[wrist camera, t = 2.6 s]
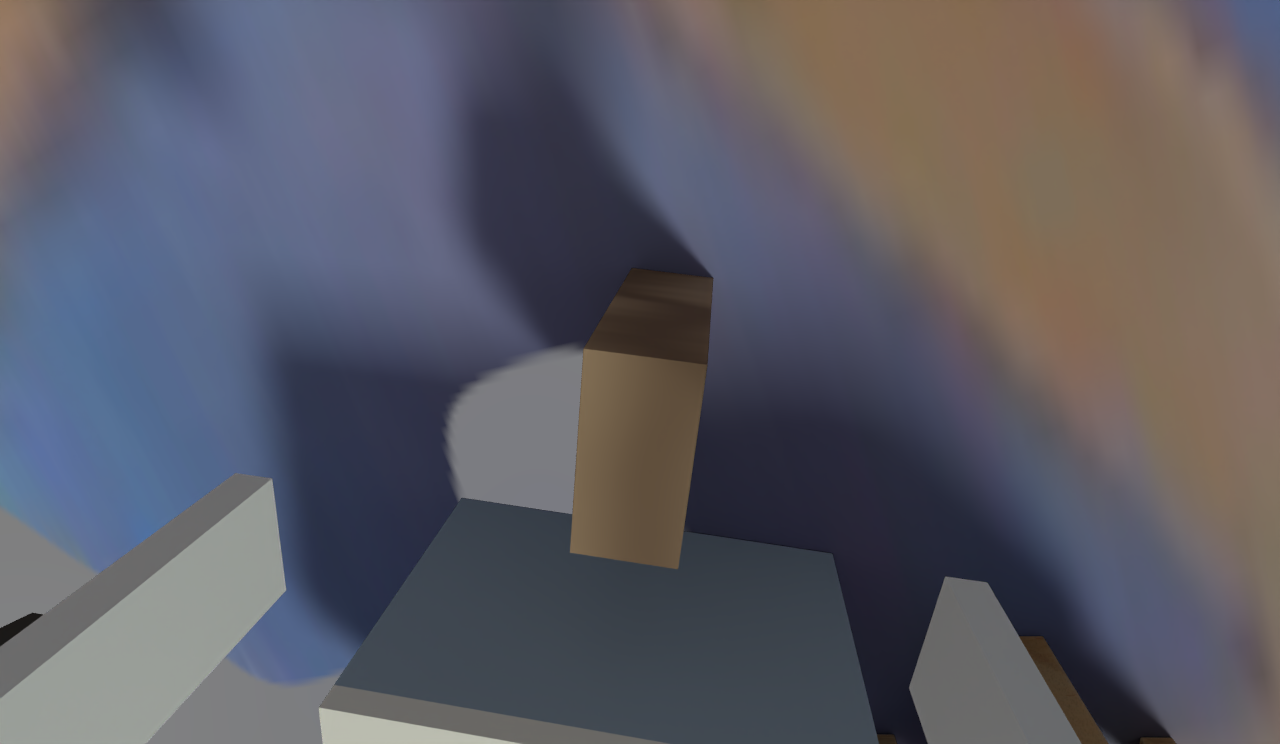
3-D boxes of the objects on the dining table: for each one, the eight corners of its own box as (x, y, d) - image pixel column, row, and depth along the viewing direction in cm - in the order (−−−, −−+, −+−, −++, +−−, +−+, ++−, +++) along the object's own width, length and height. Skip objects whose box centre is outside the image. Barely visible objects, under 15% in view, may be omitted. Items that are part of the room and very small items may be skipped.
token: (618, 414, 26) (569, 552, 18) (631, 268, 24) (583, 348, 16) (692, 425, 26) (678, 569, 18) (713, 278, 24) (707, 364, 16)
